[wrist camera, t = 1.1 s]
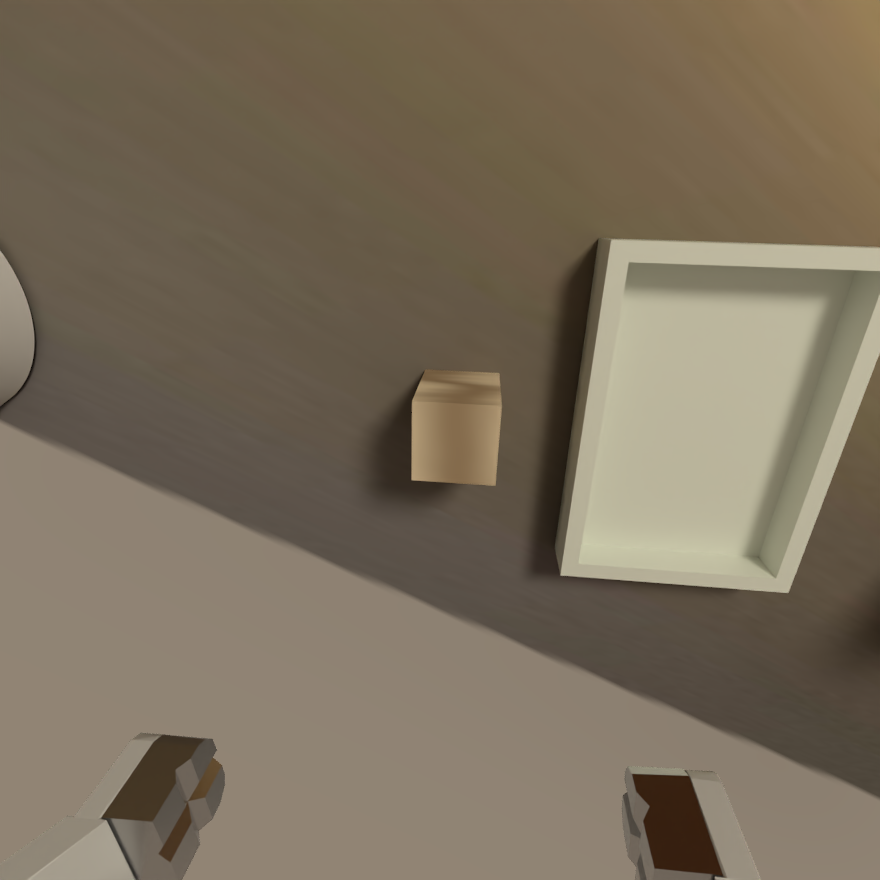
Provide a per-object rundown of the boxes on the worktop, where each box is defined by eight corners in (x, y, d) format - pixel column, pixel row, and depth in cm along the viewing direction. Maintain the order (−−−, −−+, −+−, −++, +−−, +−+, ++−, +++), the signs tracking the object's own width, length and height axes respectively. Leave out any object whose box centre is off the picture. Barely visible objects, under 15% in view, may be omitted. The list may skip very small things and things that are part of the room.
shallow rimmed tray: (554, 547, 35) (560, 575, 32) (598, 238, 27) (611, 239, 24) (763, 563, 34) (788, 592, 31) (873, 246, 26) (919, 249, 23)
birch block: (424, 437, 33) (411, 480, 27) (425, 369, 31) (411, 400, 25) (493, 441, 32) (495, 485, 27) (499, 373, 30) (501, 406, 25)
